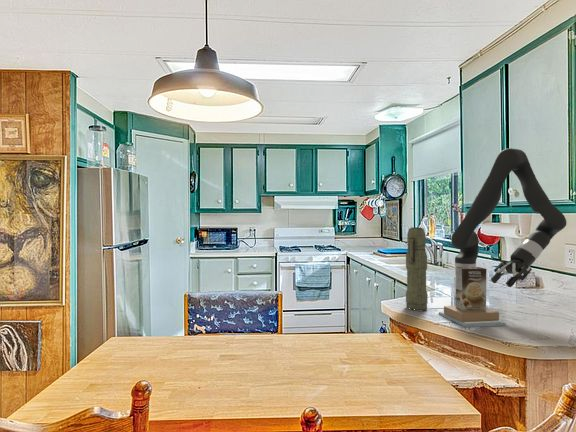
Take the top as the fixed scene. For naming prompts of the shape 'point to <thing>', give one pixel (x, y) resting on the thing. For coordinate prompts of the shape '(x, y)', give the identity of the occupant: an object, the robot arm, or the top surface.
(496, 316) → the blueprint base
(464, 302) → the coffee box
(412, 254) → the thermos
